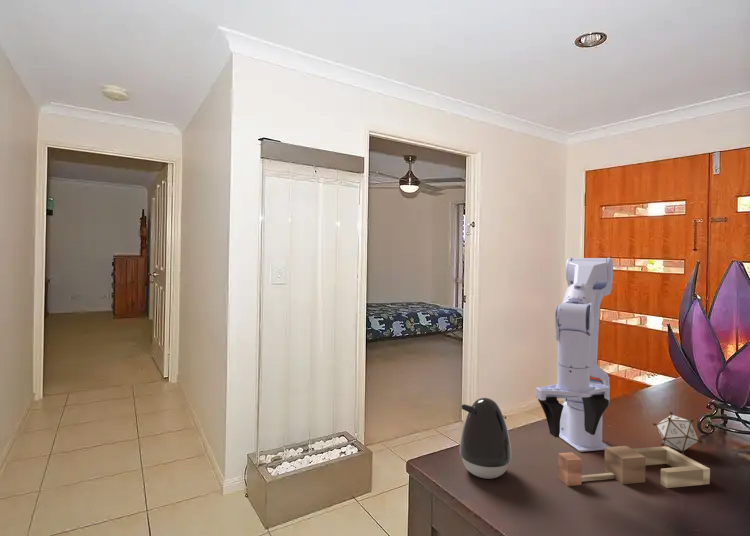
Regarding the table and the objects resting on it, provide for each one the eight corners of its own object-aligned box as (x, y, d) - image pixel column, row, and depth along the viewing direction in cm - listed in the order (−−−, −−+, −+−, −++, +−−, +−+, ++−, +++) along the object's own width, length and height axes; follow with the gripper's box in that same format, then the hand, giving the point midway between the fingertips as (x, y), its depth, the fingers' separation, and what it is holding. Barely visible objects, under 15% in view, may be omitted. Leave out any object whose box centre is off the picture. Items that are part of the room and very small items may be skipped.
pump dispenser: (450, 463, 90) (450, 392, 90) (493, 457, 93) (494, 388, 93) (473, 488, 81) (474, 409, 80) (521, 481, 83) (522, 404, 83)
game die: (668, 461, 100) (656, 418, 105) (711, 459, 95) (696, 413, 100) (656, 452, 95) (644, 407, 100) (701, 449, 90) (686, 402, 95)
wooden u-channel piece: (627, 463, 91) (627, 449, 91) (666, 459, 93) (666, 446, 93) (666, 488, 81) (667, 472, 81) (709, 484, 83) (709, 468, 83)
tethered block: (555, 475, 86) (555, 451, 86) (626, 469, 88) (626, 445, 88) (570, 488, 81) (571, 462, 81) (645, 482, 83) (645, 456, 83)
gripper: (550, 371, 78) (549, 445, 78) (621, 368, 80) (620, 440, 80) (530, 362, 85) (529, 429, 85) (596, 359, 87) (595, 425, 87)
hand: (572, 434), depth 83 cm, fingers open, 7 cm apart
